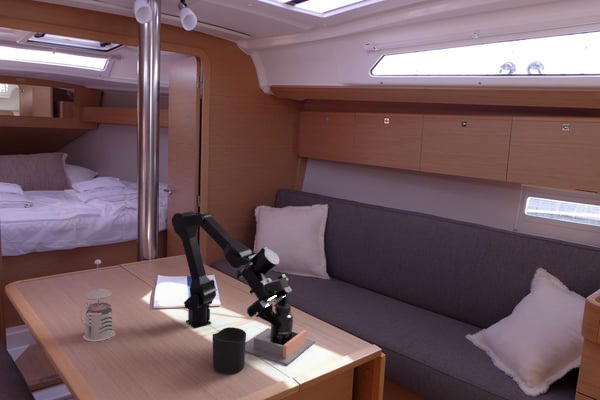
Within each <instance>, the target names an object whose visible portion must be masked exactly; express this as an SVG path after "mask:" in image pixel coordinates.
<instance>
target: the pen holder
mask: <svg viewBox="0 0 600 400" xmlns="http://www.w3.org/2000/svg"><path fill="white" fill-rule="evenodd" d="M246 342H247V333H246V331H245V330H244V329H241V328H238V327H231V326H229V327H224V328H222V329H221V330H219V331H218V332H215V333H212V365H213V370H214V371H215V372H217V373H218V374H220V375H236V374H237V373H240V372H241V371H242V370H243V369H244V367H245V358H246V356H245V355H246V353H245V345H246Z"/></svg>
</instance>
